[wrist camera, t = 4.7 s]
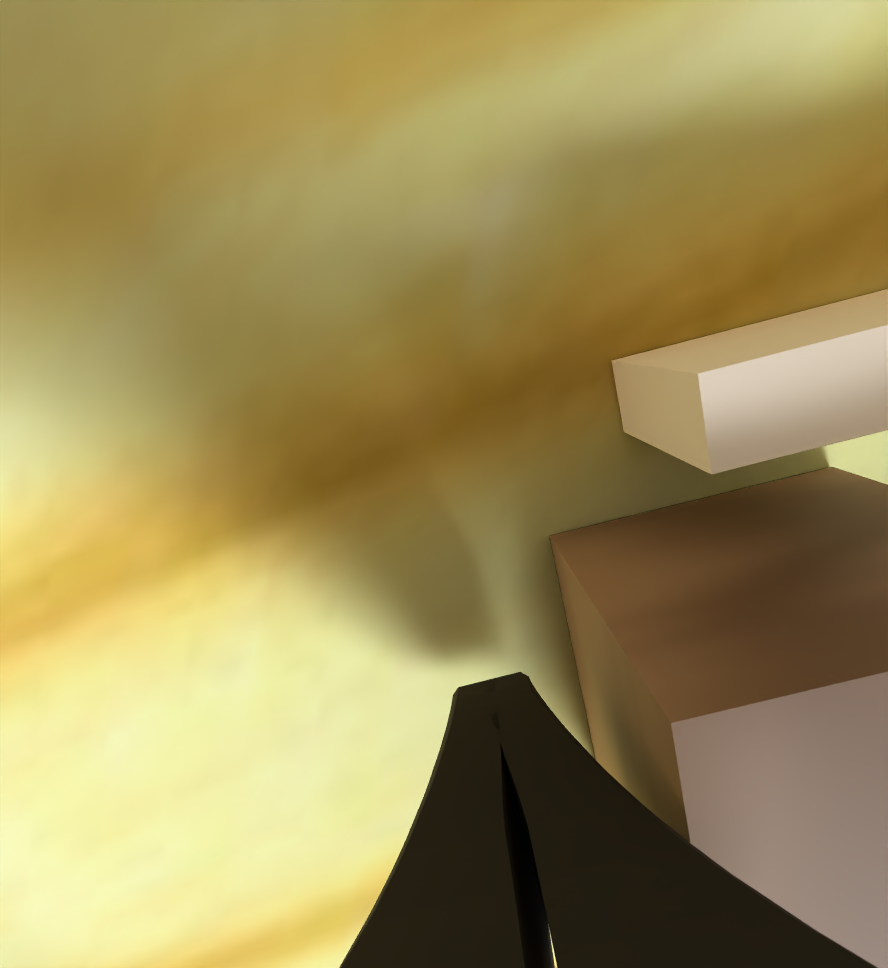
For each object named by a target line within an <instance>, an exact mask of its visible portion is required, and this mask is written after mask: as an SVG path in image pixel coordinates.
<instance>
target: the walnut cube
mask: <svg viewBox="0 0 888 968" xmlns="http://www.w3.org/2000/svg"><path fill="white" fill-rule="evenodd" d="M550 541H551V546H552V550H553V555H554V560H555V565H556V570H557V575H558V579H559V584H560V589H561V594H562V599H563V603H564V608H565V613H566V618H567V623H568V627H569V632H570V637H571V642H572V647H573V652H574V656H575V661H576V666H577V671H578V676H579V680H580V685H581V690H582V695H583V700H584V705H585V709H586V714H587V719H588V724H589V729H590V733H591V738H592V743H593V748H594V753H595V758H596V761H597V762H598V763H599V764H600V765H601V766H602V767H603V768H604V769H605V770H606V771H607V772H608V773H609V774H610V775H611V776H613V777H614V778H615V779H616V780H617V781H618V782H619V783H620V784H621V785H622V786H623V787H624V788H625V789H626V790H627V791H629V792H630V793H631V794H632V795H633V796H634V797H635V798H636V799H637V800H639V801H640V802H641V803H642V804H643V805H644V806H645V807H647V808H648V809H649V810H650V811H651V812H652V813H654V814H655V815H656V816H657V817H658V818H660V819H661V820H662V821H663V822H664V823H666V824H667V825H668V826H669V827H671V828H672V829H673V830H674V831H676V832H677V833H678V834H679V835H681V836H682V837H683V838H684V839H686V840H687V841H688V842H689V843H691V844H692V845H693V846H695V847H696V848H697V849H699V850H700V851H701V852H703V853H704V854H705V855H707V856H708V857H709V858H711V859H712V860H713V861H715V862H716V863H717V864H719V865H720V866H721V867H723V868H724V869H726V870H727V871H728V872H730V873H731V874H733V875H734V876H736V877H737V878H739V879H740V880H742V881H743V882H745V883H746V884H748V885H749V886H751V887H752V888H754V889H755V890H757V891H758V892H760V893H761V894H763V895H764V896H766V897H767V898H769V899H770V900H772V901H773V902H775V903H776V904H777V905H779V906H780V907H782V908H783V909H785V910H786V911H788V912H789V913H791V914H792V915H794V916H795V917H797V918H798V919H800V920H801V921H803V922H804V923H806V924H807V925H809V926H810V927H812V928H813V929H815V930H816V931H818V932H820V933H821V934H823V935H825V936H826V937H828V938H830V939H831V940H833V941H835V942H836V943H838V944H840V945H841V946H843V947H845V948H846V949H848V950H850V951H851V952H853V953H855V954H856V955H858V956H860V957H861V958H863V959H865V960H866V961H868V962H869V963H871V964H873V965H874V966H876V967H878V968H888V485H886V484H883V483H880V482H877V481H874V480H871V479H868V478H865V477H862V476H859V475H856V474H852V473H849V472H846V471H843V470H840V469H837V468H834V467H829V468H825V469H821V470H816V471H812V472H808V473H804V474H800V475H796V476H792V477H788V478H784V479H780V480H776V481H772V482H767V483H763V484H759V485H755V486H751V487H747V488H743V489H739V490H735V491H731V492H727V493H723V494H718V495H714V496H710V497H706V498H702V499H698V500H694V501H690V502H686V503H682V504H678V505H674V506H669V507H665V508H661V509H657V510H653V511H649V512H645V513H641V514H637V515H633V516H629V517H625V518H620V519H616V520H612V521H608V522H604V523H600V524H596V525H592V526H588V527H584V528H580V529H576V530H572V531H567V532H563V533H559V534H555V535H551V536H550Z"/></svg>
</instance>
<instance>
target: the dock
mask: <svg viewBox="0 0 888 968" xmlns="http://www.w3.org/2000/svg"><path fill="white" fill-rule="evenodd" d="M612 367H613V372H614V378H615V384H616V390H617V396H618V401H619V407H620V413H621V419H622V424H623V430H624V432H625V433H627V434H629V435H631V436H634V437H636V438H638V439H640V440H642V441H644V442H646V443H648V444H650V445H652V446H654V447H656V448H658V449H660V450H662V451H664V452H666V453H668V454H670V455H672V456H674V457H677V458H679V459H681V460H683V461H685V462H687V463H689V464H691V465H693V466H695V467H697V468H699V469H701V470H703V471H705V472H707V473H709V474H711V475H712V474H716V473H720V472H724V471H728V470H732V469H735V468H739V467H743V466H747V465H751V464H755V463H759V462H763V461H767V460H771V459H775V458H779V457H783V456H787V455H791V454H794V453H798V452H802V451H806V450H810V449H814V448H818V447H822V446H826V445H830V444H834V443H838V442H842V441H846V440H850V439H854V438H857V437H861V436H865V435H869V434H873V433H877V432H881V431H885V430H888V289H886V290H882V291H878V292H874V293H870V294H866V295H863V296H859V297H855V298H851V299H847V300H843V301H839V302H836V303H832V304H828V305H824V306H820V307H816V308H812V309H809V310H805V311H801V312H797V313H793V314H789V315H785V316H782V317H778V318H774V319H770V320H766V321H762V322H758V323H755V324H751V325H747V326H743V327H739V328H735V329H732V330H728V331H724V332H720V333H716V334H712V335H708V336H705V337H701V338H697V339H693V340H689V341H685V342H681V343H678V344H674V345H670V346H666V347H662V348H658V349H654V350H651V351H647V352H643V353H639V354H635V355H631V356H627V357H624V358H620V359H616V360H612Z"/></svg>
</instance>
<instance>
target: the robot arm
mask: <svg viewBox="0 0 888 968" xmlns="http://www.w3.org/2000/svg"><path fill="white" fill-rule="evenodd" d="M548 924H549V925H548ZM549 929H550V931H549ZM550 933H551V938H552V943H553V948H554V953H555V957H556V962H557V967H558V968H878V967H876V966H874V965H873V964H871V963H869V962H868V961H866V960H865V959H863V958H861V957H860V956H858V955H856V954H855V953H853V952H851V951H850V950H848V949H846V948H845V947H843V946H841V945H840V944H838V943H836V942H835V941H833V940H831V939H830V938H828V937H826V936H825V935H823V934H821V933H820V932H818V931H816V930H815V929H813V928H812V927H810V926H809V925H807V924H806V923H804V922H803V921H801V920H800V919H798V918H797V917H795V916H794V915H792V914H791V913H789V912H788V911H786V910H785V909H783V908H782V907H780V906H779V905H777V904H776V903H775V902H773V901H772V900H770V899H769V898H767V897H766V896H764V895H763V894H761V893H760V892H758V891H757V890H755V889H754V888H752V887H751V886H749V885H748V884H746V883H745V882H743V881H742V880H740V879H739V878H737V877H736V876H734V875H733V874H731V873H730V872H728V871H727V870H726V869H724V868H723V867H721V866H720V865H719V864H717V863H716V862H715V861H713V860H712V859H711V858H709V857H708V856H707V855H705V854H704V853H703V852H701V851H700V850H699V849H697V848H696V847H695V846H693V845H692V844H691V843H689V842H688V841H687V840H686V839H684V838H683V837H682V836H681V835H679V834H678V833H677V832H676V831H674V830H673V829H672V828H671V827H669V826H668V825H667V824H666V823H664V822H663V821H662V820H661V819H660V818H658V817H657V816H656V815H655V814H654V813H652V812H651V811H650V810H649V809H648V808H647V807H645V806H644V805H643V804H642V803H641V802H640V801H639V800H637V799H636V798H635V797H634V796H633V795H632V794H631V793H630V792H629V791H627V790H626V789H625V788H624V787H623V786H622V785H621V784H620V783H619V782H618V781H617V780H616V779H615V778H614V777H613V776H611V775H610V774H609V773H608V772H607V771H606V770H605V769H604V768H603V767H602V766H601V765H600V764H599V763H598V762H597V761H596V760H595V759H594V758H593V757H592V756H591V755H590V754H589V753H588V752H587V750H586V749H585V748H584V747H583V746H582V745H581V744H580V743H579V742H578V741H577V740H576V739H575V738H574V736H573V735H572V734H571V733H570V732H569V731H568V730H567V729H566V728H565V726H564V725H563V724H562V723H561V722H560V721H559V719H558V718H557V717H556V716H555V715H554V713H553V712H552V711H551V710H550V708H549V707H548V706H547V705H546V703H545V702H544V700H543V699H542V698H541V696H540V695H539V693H538V692H537V691H536V689H535V687H534V686H533V684H532V682H531V681H530V679H529V677H528V676H527V675H525V674H523V673H522V672H518V673H514V674H510V675H506V676H502V677H498V678H494V679H490V680H486V681H482V682H478V683H474V684H470V685H466V686H462V687H458V688H457V690H456V692H455V693H454V695H453V699H452V705H451V710H450V714H449V719H448V723H447V727H446V730H445V734H444V737H443V741H442V744H441V748H440V751H439V754H438V757H437V760H436V763H435V766H434V769H433V772H432V775H431V778H430V781H429V784H428V786H427V789H426V792H425V794H424V797H423V800H422V802H421V804H420V807H419V809H418V812H417V814H416V817H415V819H414V822H413V824H412V826H411V829H410V831H409V834H408V836H407V839H406V841H405V843H404V846H403V848H402V850H401V852H400V854H399V856H398V859H397V861H396V863H395V865H394V867H393V869H392V871H391V873H390V875H389V878H388V880H387V882H386V884H385V886H384V887H383V889H382V891H381V893H380V895H379V897H378V899H377V901H376V903H375V905H374V907H373V909H372V911H371V913H370V915H369V916H368V918H367V920H366V922H365V924H364V925H363V927H362V929H361V931H360V932H359V934H358V936H357V938H356V939H355V941H354V943H353V945H352V946H351V948H350V950H349V952H348V953H347V955H346V957H345V959H344V960H343V962H342V964H341V966H340V967H339V968H555V966H554V959H553V952H552V945H551V938H550Z"/></svg>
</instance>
